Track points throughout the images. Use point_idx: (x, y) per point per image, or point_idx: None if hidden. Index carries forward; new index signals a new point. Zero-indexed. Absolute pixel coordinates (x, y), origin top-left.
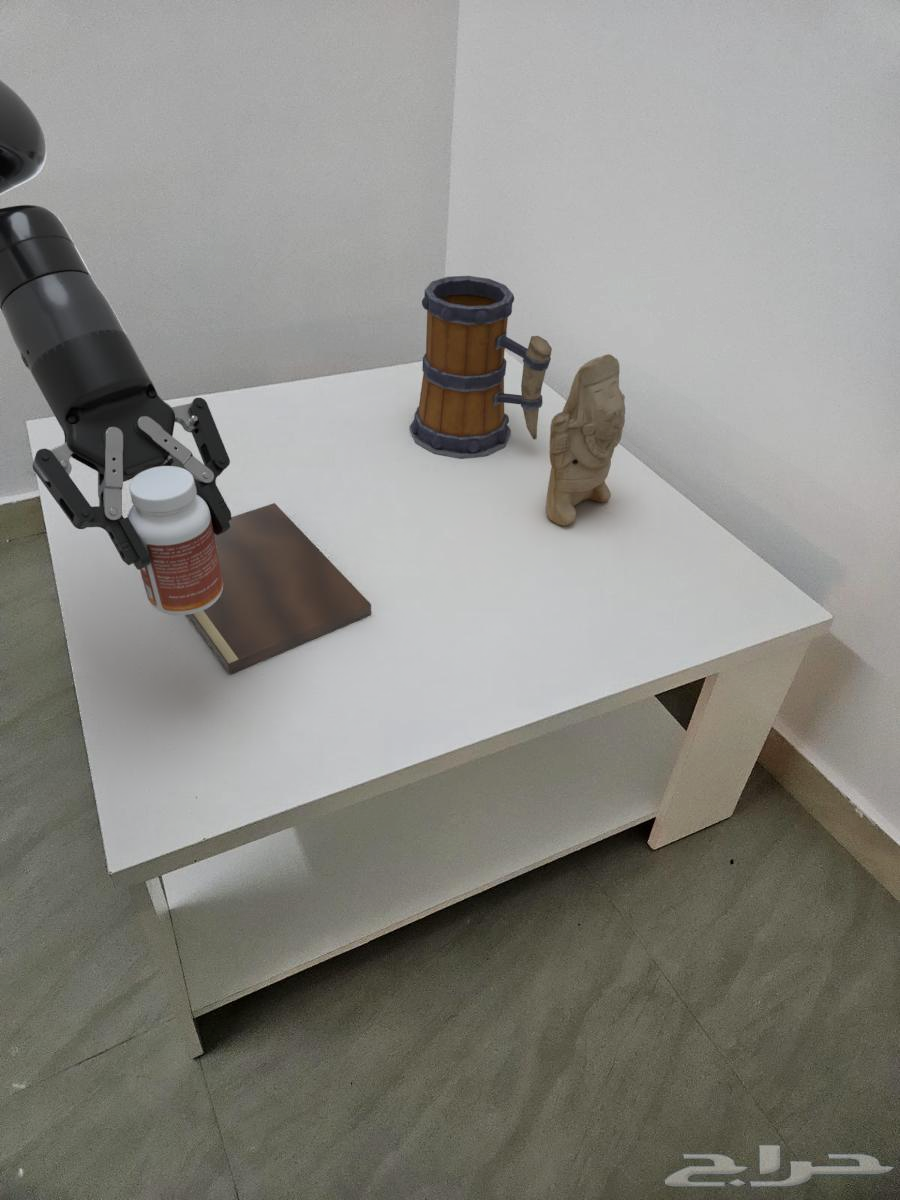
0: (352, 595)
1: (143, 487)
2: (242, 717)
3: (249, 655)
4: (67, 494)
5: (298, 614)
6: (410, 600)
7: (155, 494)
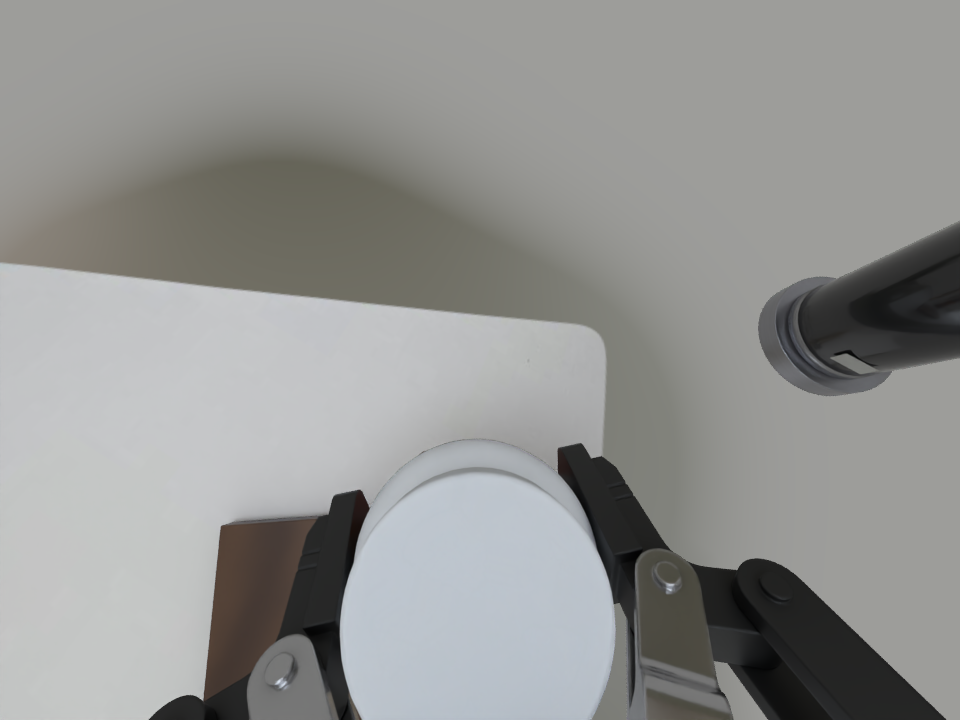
0: (230, 557)
1: (560, 612)
2: (453, 434)
3: None
4: (898, 694)
5: None
6: (171, 522)
7: (528, 528)
